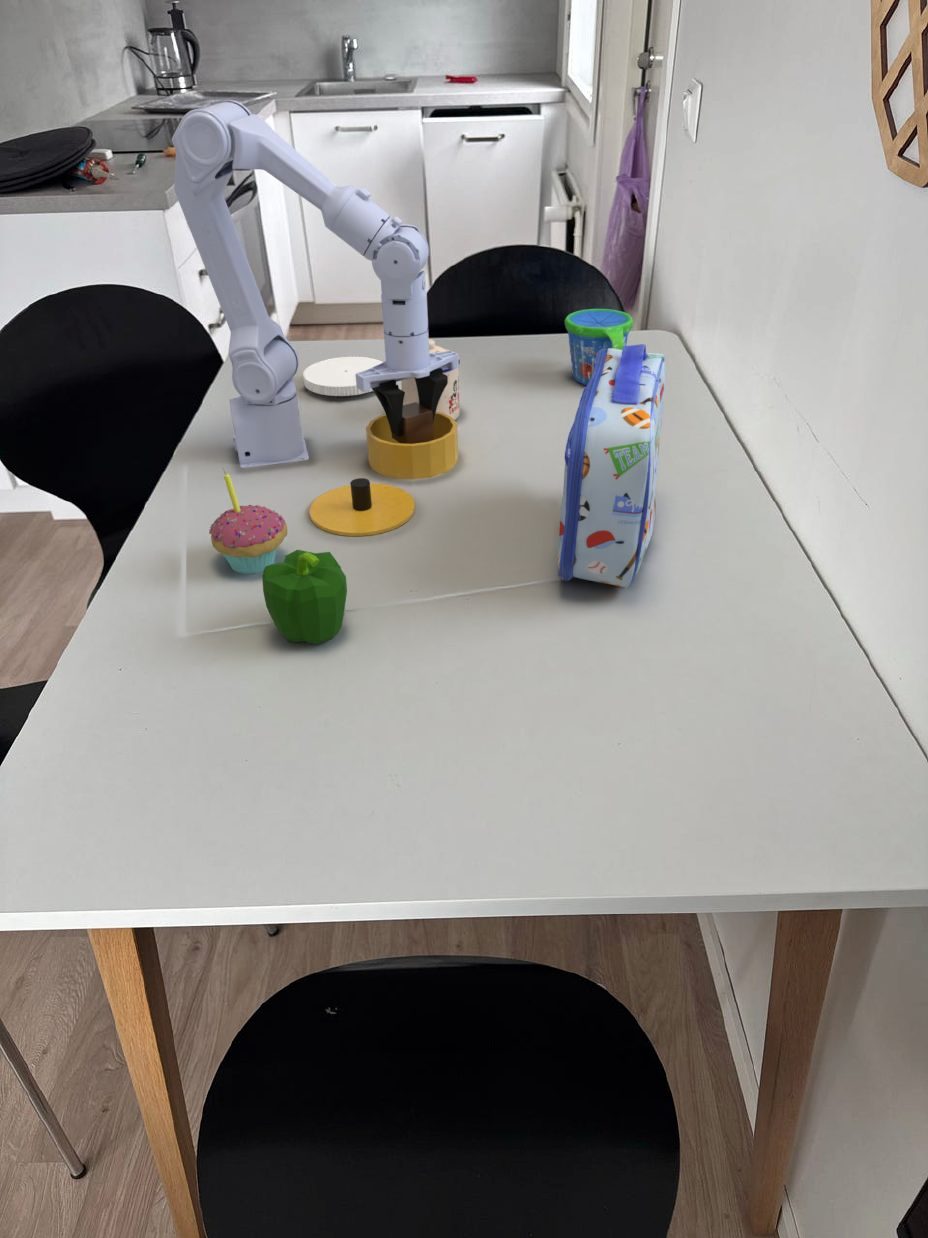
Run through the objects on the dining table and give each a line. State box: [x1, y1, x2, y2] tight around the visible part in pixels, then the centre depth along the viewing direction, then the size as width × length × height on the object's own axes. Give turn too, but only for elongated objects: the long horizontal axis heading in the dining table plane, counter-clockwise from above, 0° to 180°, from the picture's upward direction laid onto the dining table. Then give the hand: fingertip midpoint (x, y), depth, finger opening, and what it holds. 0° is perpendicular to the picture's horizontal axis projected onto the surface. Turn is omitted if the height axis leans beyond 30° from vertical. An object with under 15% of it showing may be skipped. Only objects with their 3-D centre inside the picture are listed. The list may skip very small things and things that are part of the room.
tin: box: [365, 412, 459, 480], centre depth 130 cm, size 12×12×5 cm
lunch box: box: [557, 343, 666, 589], centre depth 106 cm, size 28×10×22 cm, turn 168°
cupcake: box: [208, 467, 288, 575], centre depth 106 cm, size 9×8×12 cm
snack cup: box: [564, 308, 634, 386], centre depth 153 cm, size 16×10×10 cm
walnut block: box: [391, 402, 434, 444], centre depth 128 cm, size 4×4×4 cm
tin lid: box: [309, 477, 416, 537], centre depth 118 cm, size 13×13×4 cm
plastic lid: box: [302, 356, 384, 397], centre depth 156 cm, size 14×14×2 cm
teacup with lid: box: [400, 338, 461, 421], centre depth 143 cm, size 12×9×12 cm
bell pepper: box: [261, 549, 348, 645], centre depth 96 cm, size 8×8×10 cm
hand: (411, 429), depth 129 cm, fingers closed on walnut block, 4 cm apart
